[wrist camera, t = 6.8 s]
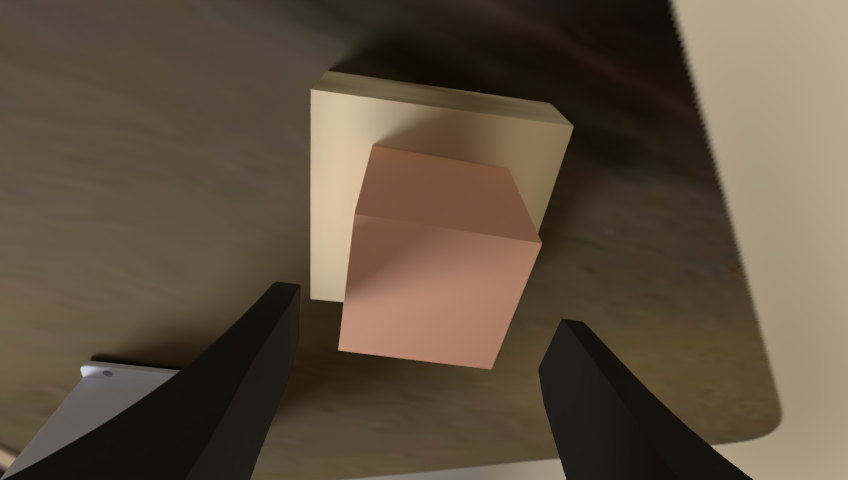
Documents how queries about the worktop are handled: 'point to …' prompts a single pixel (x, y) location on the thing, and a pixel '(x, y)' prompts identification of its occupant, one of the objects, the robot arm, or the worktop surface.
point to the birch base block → (416, 150)
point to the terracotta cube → (435, 259)
